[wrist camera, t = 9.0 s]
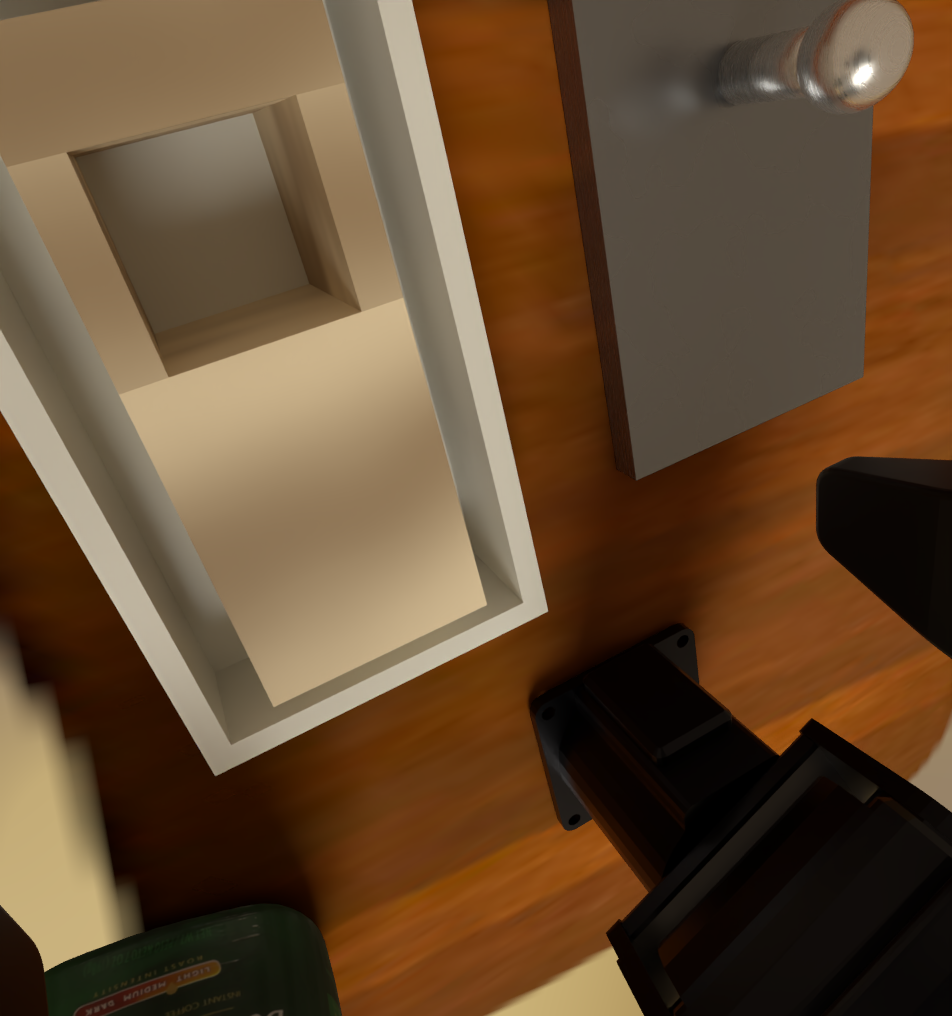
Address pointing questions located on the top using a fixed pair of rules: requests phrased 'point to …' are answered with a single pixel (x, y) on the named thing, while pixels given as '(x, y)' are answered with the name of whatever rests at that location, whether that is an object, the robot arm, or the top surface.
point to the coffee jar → (204, 970)
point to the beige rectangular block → (254, 330)
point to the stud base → (723, 203)
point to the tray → (226, 285)
